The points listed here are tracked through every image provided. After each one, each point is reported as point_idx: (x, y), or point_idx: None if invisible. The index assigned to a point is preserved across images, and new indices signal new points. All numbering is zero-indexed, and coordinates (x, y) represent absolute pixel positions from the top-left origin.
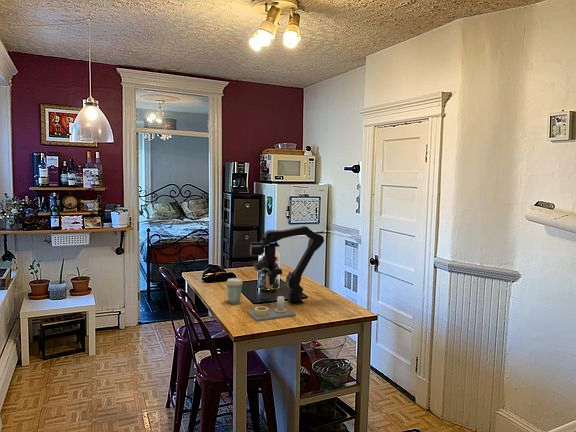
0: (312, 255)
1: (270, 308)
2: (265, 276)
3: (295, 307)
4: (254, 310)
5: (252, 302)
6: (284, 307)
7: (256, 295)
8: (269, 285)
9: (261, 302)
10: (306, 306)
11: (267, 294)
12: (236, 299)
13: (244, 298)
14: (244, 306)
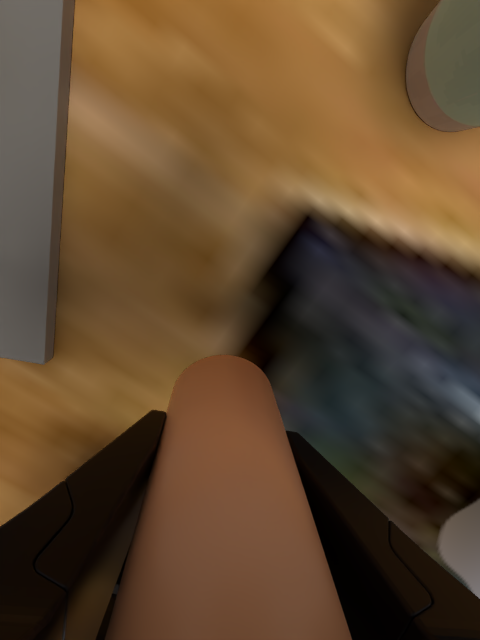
0: None
1: (31, 220)
2: (371, 540)
3: (24, 433)
4: (40, 13)
5: (332, 223)
6: (1, 344)
7: (451, 363)
8: (171, 407)
9: (282, 290)
10: (11, 502)
11: (408, 440)
12: (435, 18)
13: (468, 231)
14: (283, 70)
